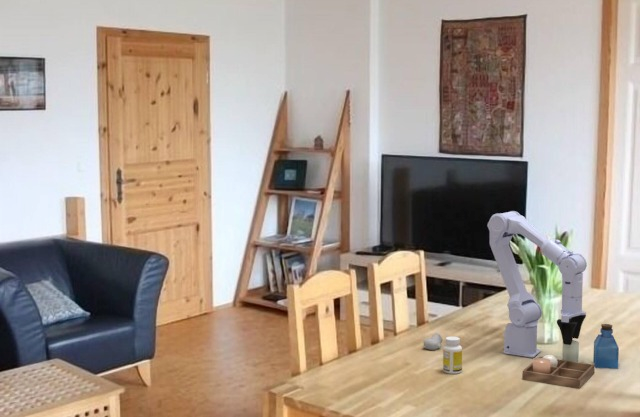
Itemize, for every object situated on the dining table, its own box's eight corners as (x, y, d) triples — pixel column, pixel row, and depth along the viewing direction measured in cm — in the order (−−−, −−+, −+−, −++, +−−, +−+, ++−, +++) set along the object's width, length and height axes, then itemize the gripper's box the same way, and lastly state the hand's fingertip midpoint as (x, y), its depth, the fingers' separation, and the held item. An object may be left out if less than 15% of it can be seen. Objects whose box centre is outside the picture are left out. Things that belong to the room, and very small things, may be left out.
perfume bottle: (618, 368, 248) (619, 328, 247) (595, 367, 250) (596, 327, 248) (615, 362, 254) (616, 323, 253) (593, 361, 256) (594, 322, 254)
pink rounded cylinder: (530, 378, 240) (530, 361, 240) (535, 374, 244) (535, 357, 244) (547, 381, 238) (547, 363, 237) (552, 376, 242) (552, 359, 241)
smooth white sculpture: (433, 355, 267) (419, 348, 270) (445, 349, 274) (432, 342, 276) (437, 343, 266) (423, 336, 269) (449, 337, 272) (435, 330, 275)
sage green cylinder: (560, 364, 253) (560, 342, 252) (564, 360, 257) (565, 339, 256) (575, 366, 251) (576, 345, 250) (580, 362, 255) (580, 341, 254)
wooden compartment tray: (522, 379, 240) (522, 370, 239) (539, 364, 253) (539, 356, 253) (579, 388, 231) (579, 379, 231) (594, 372, 245) (594, 364, 244)
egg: (539, 371, 247) (539, 355, 246) (543, 367, 251) (544, 351, 250) (554, 373, 244) (555, 358, 244) (559, 369, 248) (560, 354, 248)
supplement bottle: (463, 369, 249) (463, 336, 248) (460, 375, 244) (460, 341, 243) (444, 367, 251) (445, 335, 249) (441, 373, 246) (441, 339, 244)
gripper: (579, 302, 243) (578, 348, 245) (592, 292, 255) (591, 337, 257) (554, 299, 247) (553, 345, 248) (568, 290, 259) (567, 334, 261)
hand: (571, 341), depth 253 cm, fingers open, 7 cm apart
